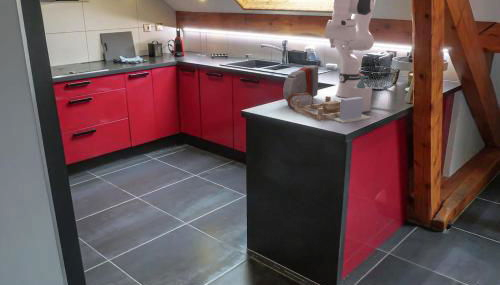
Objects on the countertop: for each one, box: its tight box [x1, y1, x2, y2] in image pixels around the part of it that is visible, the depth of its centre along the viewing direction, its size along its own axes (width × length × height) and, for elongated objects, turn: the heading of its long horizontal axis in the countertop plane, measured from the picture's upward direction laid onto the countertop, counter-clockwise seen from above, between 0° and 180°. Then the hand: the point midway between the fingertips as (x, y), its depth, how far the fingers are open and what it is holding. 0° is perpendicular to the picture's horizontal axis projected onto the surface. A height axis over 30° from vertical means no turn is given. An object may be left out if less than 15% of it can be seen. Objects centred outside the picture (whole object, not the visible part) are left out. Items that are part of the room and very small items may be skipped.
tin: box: [286, 93, 315, 110], centre depth 232 cm, size 15×3×8 cm, turn 109°
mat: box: [332, 114, 372, 124], centre depth 213 cm, size 19×7×1 cm, turn 120°
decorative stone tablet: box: [282, 64, 319, 102], centre depth 244 cm, size 19×6×30 cm
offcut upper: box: [322, 100, 341, 110], centre depth 224 cm, size 4×9×3 cm, turn 125°
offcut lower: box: [320, 106, 340, 114], centre depth 225 cm, size 5×11×3 cm, turn 66°
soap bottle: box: [349, 74, 373, 113], centre depth 228 cm, size 9×9×19 cm
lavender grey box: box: [339, 97, 363, 120], centre depth 211 cm, size 3×12×10 cm, turn 120°
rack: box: [294, 95, 340, 122], centre depth 222 cm, size 22×21×6 cm
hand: (338, 48), depth 221 cm, fingers open, 8 cm apart
